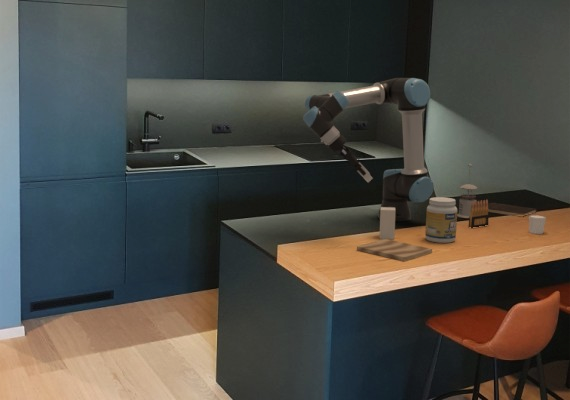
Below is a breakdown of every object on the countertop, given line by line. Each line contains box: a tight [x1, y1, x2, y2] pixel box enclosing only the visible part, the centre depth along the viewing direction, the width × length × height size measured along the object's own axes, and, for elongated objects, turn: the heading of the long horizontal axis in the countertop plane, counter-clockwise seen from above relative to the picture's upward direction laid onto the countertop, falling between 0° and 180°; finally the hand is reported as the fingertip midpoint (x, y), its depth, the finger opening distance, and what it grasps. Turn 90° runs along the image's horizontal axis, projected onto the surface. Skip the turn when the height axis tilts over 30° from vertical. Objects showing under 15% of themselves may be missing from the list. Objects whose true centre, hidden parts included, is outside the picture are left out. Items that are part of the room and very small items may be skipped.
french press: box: [457, 163, 478, 219], centre depth 337 cm, size 10×12×25 cm
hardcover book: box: [488, 202, 537, 216], centre depth 351 cm, size 16×23×2 cm
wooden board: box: [356, 239, 433, 262], centre depth 272 cm, size 22×18×2 cm
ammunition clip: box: [468, 199, 490, 229], centre depth 315 cm, size 11×2×12 cm, turn 122°
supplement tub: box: [424, 196, 458, 244], centre depth 289 cm, size 12×12×17 cm
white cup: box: [528, 214, 547, 235], centre depth 305 cm, size 7×7×7 cm
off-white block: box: [379, 206, 396, 240], centre depth 294 cm, size 6×6×12 cm
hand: (369, 178), depth 290 cm, fingers open, 13 cm apart
